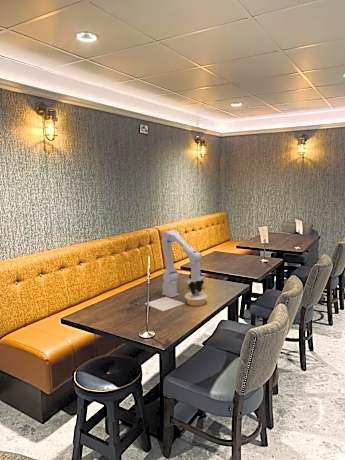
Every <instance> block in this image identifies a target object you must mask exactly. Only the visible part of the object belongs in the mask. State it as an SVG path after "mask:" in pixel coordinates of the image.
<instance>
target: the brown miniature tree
mask: <svg viewBox="0 0 345 460" xmlns="http://www.w3.org/2000/svg"><path fill="white" fill-rule="evenodd" d="M189 273H190V274H188V280H189V279H191V270H190V271H189ZM200 276H205V275H204V274H203V273H202V271H201V270H200ZM194 284H196V282H194ZM195 290H197V284H196V287H195Z"/></svg>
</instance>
